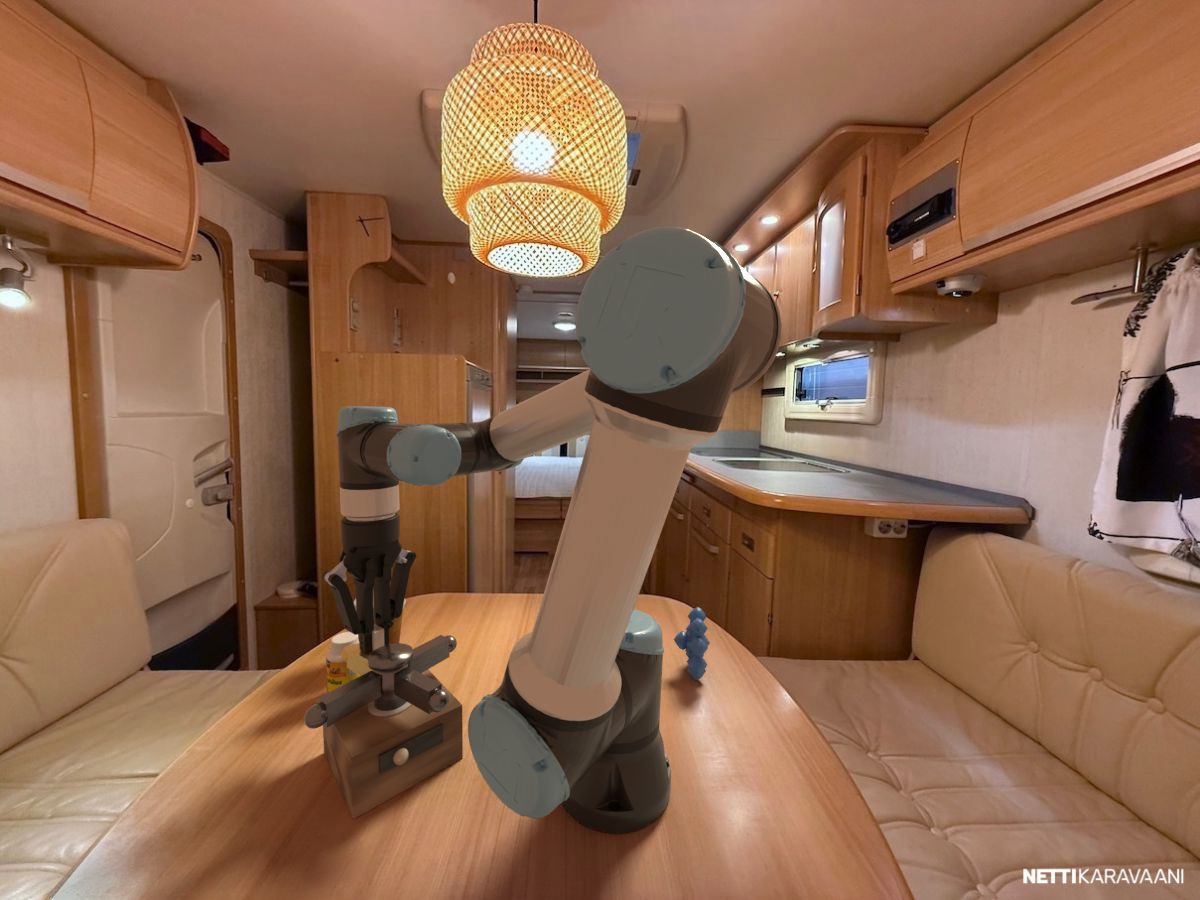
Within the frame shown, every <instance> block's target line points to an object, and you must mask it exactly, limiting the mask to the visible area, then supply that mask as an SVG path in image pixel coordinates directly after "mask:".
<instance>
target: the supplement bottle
mask: <svg viewBox="0 0 1200 900" xmlns="http://www.w3.org/2000/svg"><path fill="white" fill-rule="evenodd" d="M357 643H359V640H358V634H357V635H355V634H353V633H351V632H349V631H344V632H341V633H339V634H337V635H334V636H333V637H332V638H331V640H330V648H329V649H328V650H327V651H326V655H325V656H326V657H325V658H326V659H325V662H326V666H325V667H326V688H327V689H326V691H327V693H329V692H331V691H333V690H335V689H337V688H338V687H340V686H342V685H344V684H346V683H348V682H350V681H352V680H354V679H356V678H358V677H360V676H361V675H359V674H357V673H355V672H354V671H352V670H350V669H348V668H347V663H345V662H344V661H343V660H342V659H341V653H342V650H343V649H344V648H345V647H346V646H348V645H351V644H357ZM327 693H326V694H327Z"/></svg>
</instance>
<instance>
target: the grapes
mask: <svg viewBox="0 0 1200 900" xmlns="http://www.w3.org/2000/svg"><path fill="white" fill-rule="evenodd" d="M687 618H688V620H689V624H688V625H687V626H686V628H685V630H686V631H684V630H681V631H679V632H678V633H677V634H676V636H675V637H674V639H673V641H674V643H675V644H676V646H677V647H678V649H679V650H680V649H681V650H682V651H685V655H686V656H687V657H688V659H687V660H686V663H687V665H688V667H687V671H688V673H689V674H690V675H691V677H692V678H693V679H694V680H696V681H699V680H700V679H701V678H702V677H703V676H704V675H705V674H706V671H707V670H706V668H707V666H708V663H707V662H706V660H705V659H704V656H705V653H706V652H707V650H708V649H709V646H710V644H711V642H710V640H709V639H708V637H707V636H706V634H705V633H706V632H707V630H709V628H708V627H707V625H706V623H705V622H704V621H705V620H706V619H707V616H706V613H705V612H704V611H703V609H702V608H701V607H698V606H696V607H695V608H693V609H691V611H690V612H689V613H688V615H687Z"/></svg>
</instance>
